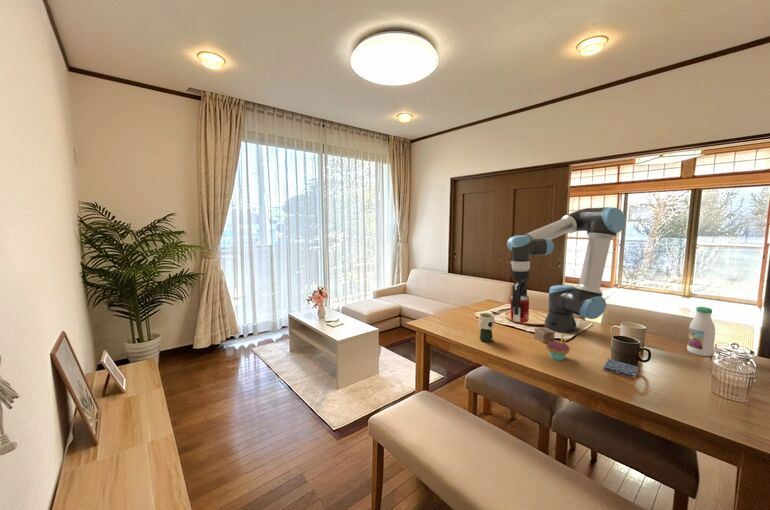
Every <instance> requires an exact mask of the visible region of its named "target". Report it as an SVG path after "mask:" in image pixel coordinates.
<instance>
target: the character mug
mask: <svg viewBox="0 0 770 510" xmlns="http://www.w3.org/2000/svg"><path fill="white" fill-rule="evenodd" d="M494 321H495V315H494V314H492V313H490V312H480V313H479V314H478V328H479V329H480V333H479V340H481V341H483V342H492V341H494V339H493V332H492V331H493V329H494V327H495V326H494Z"/></svg>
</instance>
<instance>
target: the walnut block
mask: <svg viewBox="0 0 770 510" xmlns="http://www.w3.org/2000/svg"><path fill="white" fill-rule="evenodd" d="M534 339H535V340H537V341H539V342H541V343H542V344H548V343H549V342H551V341H555V331H554V330H551V329H548V328H547V327H540V328H534Z"/></svg>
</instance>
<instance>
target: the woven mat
mask: <svg viewBox="0 0 770 510" xmlns="http://www.w3.org/2000/svg"><path fill="white" fill-rule="evenodd" d="M601 370H603V371H604V372H607V373H610V374H611V373H612V374H615V375H618V376H622V377H626V378H629V379H633V380H635V379H637V375H638V373H639V372H638V371H639V367H638V366H637V365H634V364H630V363H625V362H622V361H619V360H615V359H613V360H612V359H610V358H608V359H607V358H606V361H605V363H604V365H603V368H602V369H601Z"/></svg>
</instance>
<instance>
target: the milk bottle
mask: <svg viewBox="0 0 770 510" xmlns="http://www.w3.org/2000/svg"><path fill="white" fill-rule="evenodd" d="M695 309H696V311H695V313H696V315H695V316H694V317H693V319H692V320H691V322H690V323H689V326H688V327H689V328H688V337H687V343H686V344H687V345H686V351H688V352H689V353H691V354H694V355H697V356H703V357H712V356H713V355H714V354H713V353H714V348H715V347H714V346H715V337H716V326H715V322H713V320H712V317H711V316H712V313H713V310H712V308H710V307H705V306H696V308H695Z"/></svg>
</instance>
